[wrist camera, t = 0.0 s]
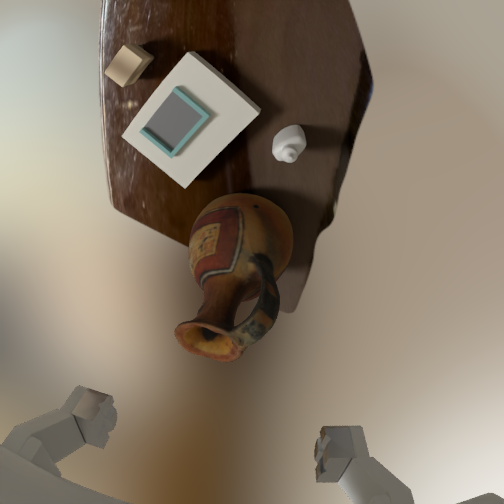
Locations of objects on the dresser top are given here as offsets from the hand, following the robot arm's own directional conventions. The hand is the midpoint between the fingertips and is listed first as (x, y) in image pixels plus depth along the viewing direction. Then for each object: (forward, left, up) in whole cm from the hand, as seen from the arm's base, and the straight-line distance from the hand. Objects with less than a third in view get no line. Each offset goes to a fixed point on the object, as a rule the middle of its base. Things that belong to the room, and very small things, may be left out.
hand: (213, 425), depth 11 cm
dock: (+11, -9, -52) cm, 54 cm away
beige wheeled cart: (+9, -24, -52) cm, 58 cm away
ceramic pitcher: (+21, +14, -52) cm, 58 cm away
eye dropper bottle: (+1, +6, -52) cm, 53 cm away
